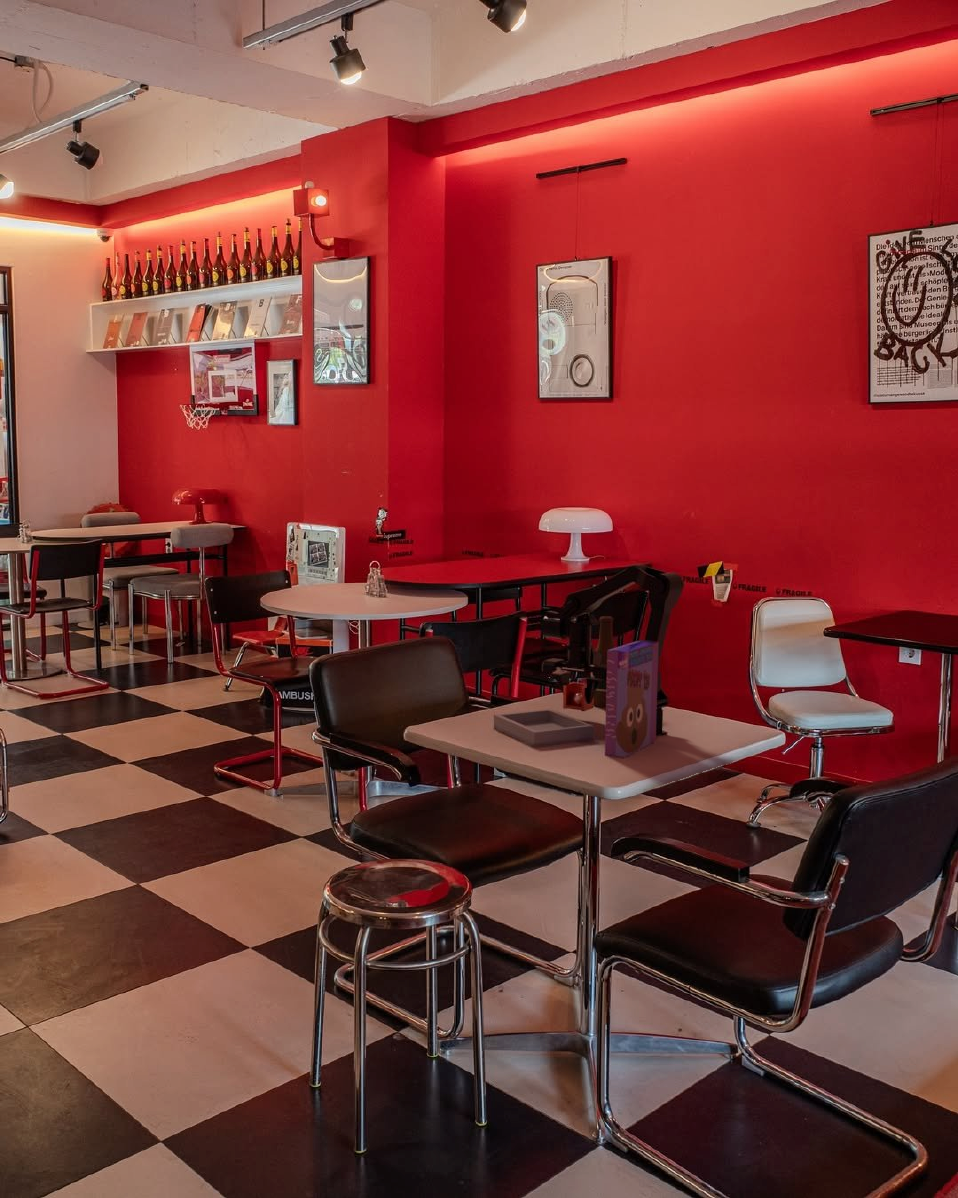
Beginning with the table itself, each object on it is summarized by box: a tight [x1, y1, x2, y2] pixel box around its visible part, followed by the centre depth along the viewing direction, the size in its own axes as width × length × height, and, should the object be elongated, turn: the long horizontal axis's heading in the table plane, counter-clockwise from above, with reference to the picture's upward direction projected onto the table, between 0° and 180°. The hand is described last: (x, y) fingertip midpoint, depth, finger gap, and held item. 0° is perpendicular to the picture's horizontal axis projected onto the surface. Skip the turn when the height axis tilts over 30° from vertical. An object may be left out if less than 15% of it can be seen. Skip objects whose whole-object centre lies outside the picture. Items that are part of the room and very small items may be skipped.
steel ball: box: [573, 693, 582, 705], centre depth 285 cm, size 3×3×3 cm
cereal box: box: [604, 639, 659, 759], centre depth 256 cm, size 17×5×24 cm, turn 148°
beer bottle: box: [590, 615, 615, 709], centre depth 303 cm, size 8×8×24 cm
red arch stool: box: [562, 681, 594, 712], centre depth 285 cm, size 6×5×6 cm
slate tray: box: [493, 708, 595, 748], centre depth 270 cm, size 20×16×4 cm
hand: (578, 702), depth 285 cm, fingers closed on red arch stool, 6 cm apart
